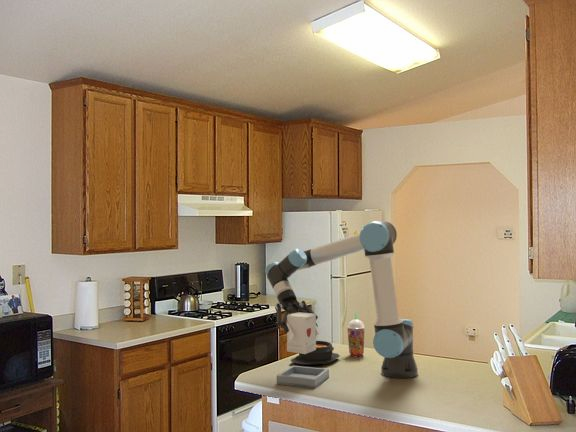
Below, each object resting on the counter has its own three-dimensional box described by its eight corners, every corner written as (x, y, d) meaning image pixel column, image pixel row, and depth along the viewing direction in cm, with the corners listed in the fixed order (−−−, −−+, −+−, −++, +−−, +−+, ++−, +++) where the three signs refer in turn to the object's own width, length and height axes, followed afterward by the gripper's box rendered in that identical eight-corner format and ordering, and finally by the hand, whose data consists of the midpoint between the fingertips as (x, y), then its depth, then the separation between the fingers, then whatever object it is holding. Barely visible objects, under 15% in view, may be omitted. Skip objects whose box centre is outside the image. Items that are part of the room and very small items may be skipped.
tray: (329, 377, 246) (329, 369, 246) (315, 388, 231) (315, 379, 231) (292, 373, 252) (292, 365, 252) (276, 384, 237) (276, 375, 237)
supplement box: (305, 354, 235) (305, 316, 235) (286, 352, 240) (286, 315, 240) (316, 349, 243) (316, 313, 243) (298, 347, 248) (297, 311, 248)
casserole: (310, 371, 256) (309, 351, 256) (281, 363, 270) (281, 345, 270) (349, 360, 273) (348, 342, 273) (320, 354, 287) (320, 336, 287)
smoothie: (347, 357, 279) (346, 314, 279) (348, 353, 287) (347, 311, 287) (365, 357, 278) (364, 315, 277) (365, 353, 286) (365, 312, 286)
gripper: (305, 297, 261) (325, 338, 248) (257, 302, 248) (276, 345, 235) (311, 286, 256) (333, 327, 243) (263, 290, 244) (283, 334, 231)
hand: (305, 336), depth 239 cm, fingers closed on supplement box, 11 cm apart
